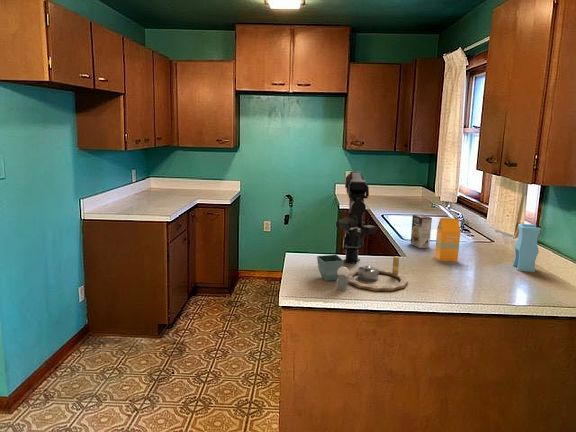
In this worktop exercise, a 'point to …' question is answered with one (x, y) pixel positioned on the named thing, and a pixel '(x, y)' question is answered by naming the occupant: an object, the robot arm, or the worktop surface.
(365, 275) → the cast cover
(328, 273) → the flower pot
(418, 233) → the coffee box
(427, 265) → the worktop surface
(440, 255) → the orange juice
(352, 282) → the brown ring with post
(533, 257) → the vase
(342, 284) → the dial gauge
